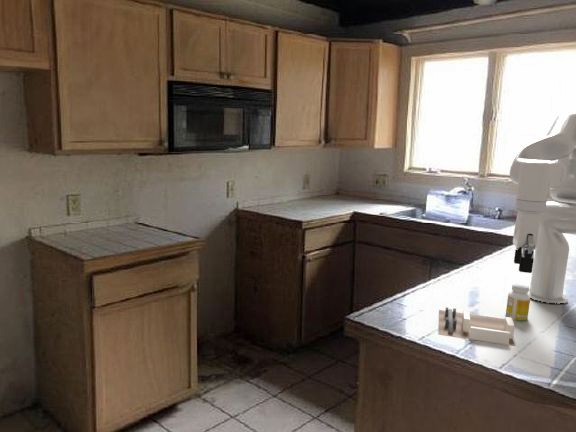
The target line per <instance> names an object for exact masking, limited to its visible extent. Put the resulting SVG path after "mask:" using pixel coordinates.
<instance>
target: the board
mask: <svg viewBox="0 0 576 432" xmlns="http://www.w3.org/2000/svg"><path fill="white" fill-rule="evenodd" d="M452 313H453V311H452ZM469 314H470V326H469V332H463V330H462V318H463V312H458V311H456V316H455V318H457V323H456V329H453V334H450V333H449V332H448V328H445V321H446V317H445V310H444V309H442V310H441V309H438V332H437V333H438V335H441V336H446V337H453V338H459V339H467V340H473V339H470V338H469V337H470V328H471V326H473V327H480V328H487V329H493V330H500V331H504V323H505V318H503V317H502V318H501V317H495V316H494V317H493V316H488V315H487V316H486V315H479V314H472V313H469ZM453 321H454V318H453ZM473 341H474V340H473ZM477 341H479V340H477ZM485 342H486V341H484V343H485ZM486 343H487V342H486ZM490 343H492V344H494V343H493V342H490ZM497 344H499V343H497ZM499 345H500V344H499ZM503 345H506V344H503ZM506 346H507V345H506ZM508 346H512V347H516V344H515V341H514V338H513V339H510V338H509V345H508Z"/></svg>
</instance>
